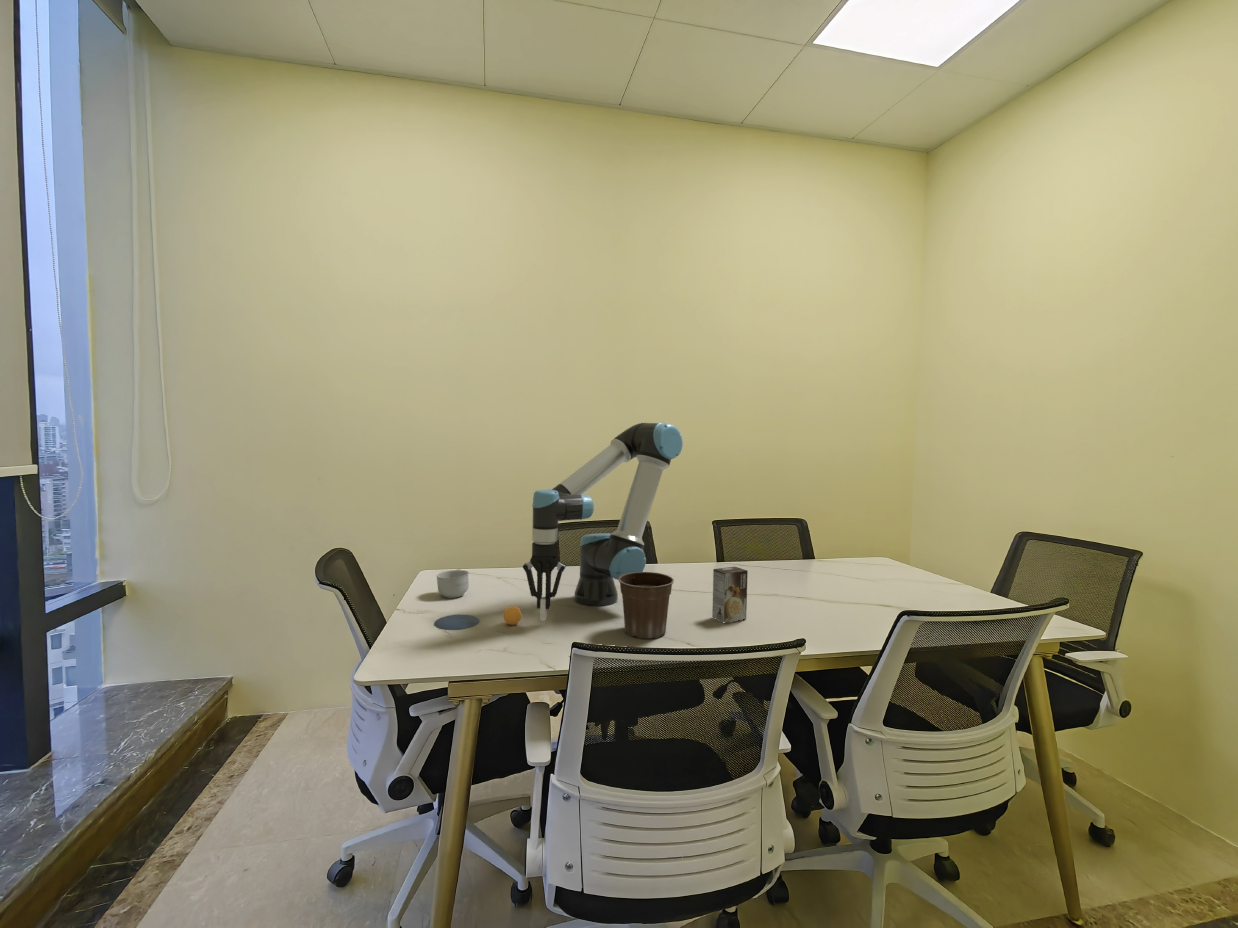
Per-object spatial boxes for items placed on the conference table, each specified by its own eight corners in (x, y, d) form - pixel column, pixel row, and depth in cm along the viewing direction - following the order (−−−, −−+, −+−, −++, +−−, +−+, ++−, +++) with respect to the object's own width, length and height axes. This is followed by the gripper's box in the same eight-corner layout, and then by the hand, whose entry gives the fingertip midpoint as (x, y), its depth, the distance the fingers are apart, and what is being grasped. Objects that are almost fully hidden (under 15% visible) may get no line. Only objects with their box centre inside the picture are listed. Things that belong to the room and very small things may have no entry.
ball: (523, 621, 177) (523, 604, 177) (519, 627, 172) (519, 609, 171) (505, 620, 177) (505, 603, 177) (501, 627, 172) (501, 609, 172)
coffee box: (734, 613, 190) (735, 565, 188) (746, 619, 184) (748, 570, 183) (711, 617, 185) (713, 568, 184) (723, 623, 180) (725, 573, 179)
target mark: (484, 615, 181) (484, 615, 181) (471, 630, 169) (471, 629, 168) (443, 614, 182) (443, 613, 182) (427, 628, 169) (427, 628, 169)
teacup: (459, 601, 196) (459, 578, 195) (430, 598, 198) (430, 575, 197) (477, 590, 209) (477, 568, 209) (450, 587, 212) (450, 566, 211)
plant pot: (631, 645, 160) (632, 588, 159) (608, 626, 175) (610, 574, 174) (682, 638, 167) (683, 583, 166) (656, 620, 181) (658, 569, 180)
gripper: (568, 540, 176) (566, 615, 177) (525, 538, 176) (524, 614, 178) (564, 545, 168) (563, 624, 170) (520, 543, 169) (519, 622, 170)
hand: (543, 618), depth 174 cm, fingers closed
